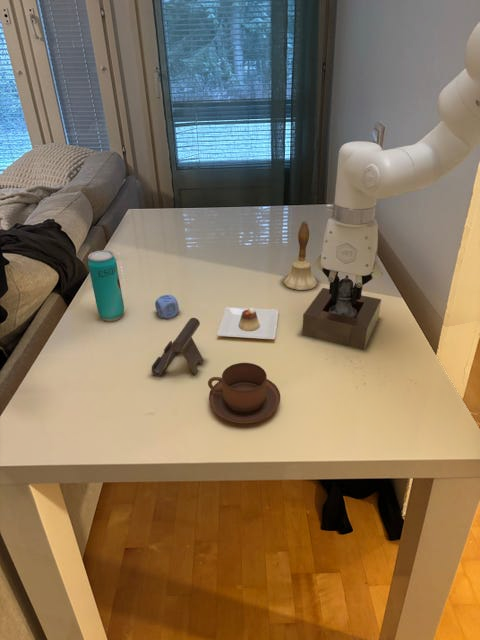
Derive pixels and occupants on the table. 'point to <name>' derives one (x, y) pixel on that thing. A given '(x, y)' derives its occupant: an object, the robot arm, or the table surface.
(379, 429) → the table surface
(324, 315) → the holder
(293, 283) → the hand bell
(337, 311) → the chess piece
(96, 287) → the beverage can
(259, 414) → the cup and saucer
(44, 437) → the table surface
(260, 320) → the dessert
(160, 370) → the tablet stand
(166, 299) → the decorative dice
